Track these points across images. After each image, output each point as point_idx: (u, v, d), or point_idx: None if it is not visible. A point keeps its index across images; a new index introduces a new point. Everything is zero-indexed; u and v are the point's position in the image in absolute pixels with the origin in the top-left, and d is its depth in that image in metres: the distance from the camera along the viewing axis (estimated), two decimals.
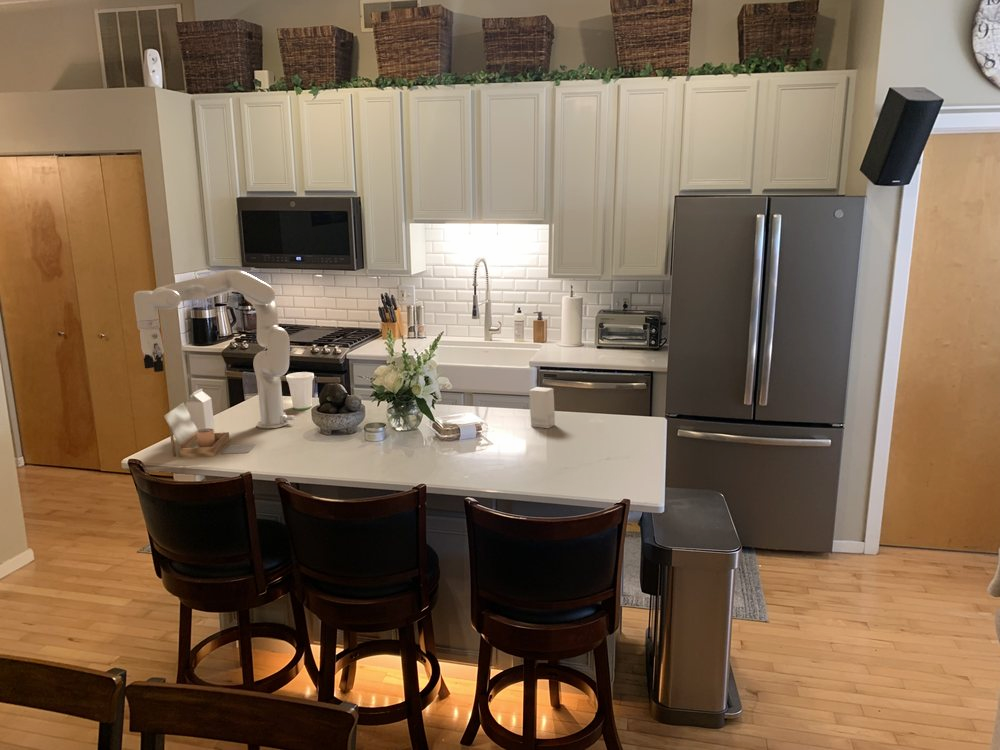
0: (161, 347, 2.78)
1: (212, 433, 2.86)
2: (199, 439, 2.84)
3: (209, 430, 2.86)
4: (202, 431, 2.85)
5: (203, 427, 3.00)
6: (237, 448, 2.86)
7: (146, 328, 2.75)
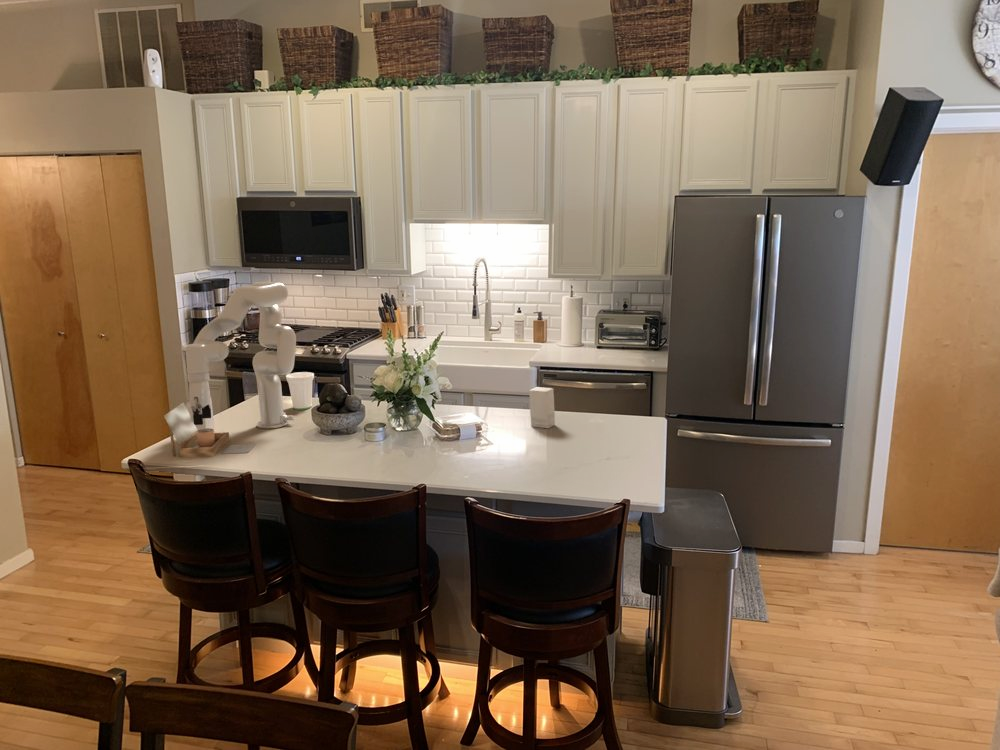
0: None
1: (212, 433, 2.86)
2: (199, 439, 2.84)
3: (209, 430, 2.86)
4: (202, 431, 2.85)
5: (203, 427, 3.00)
6: (237, 448, 2.86)
7: None
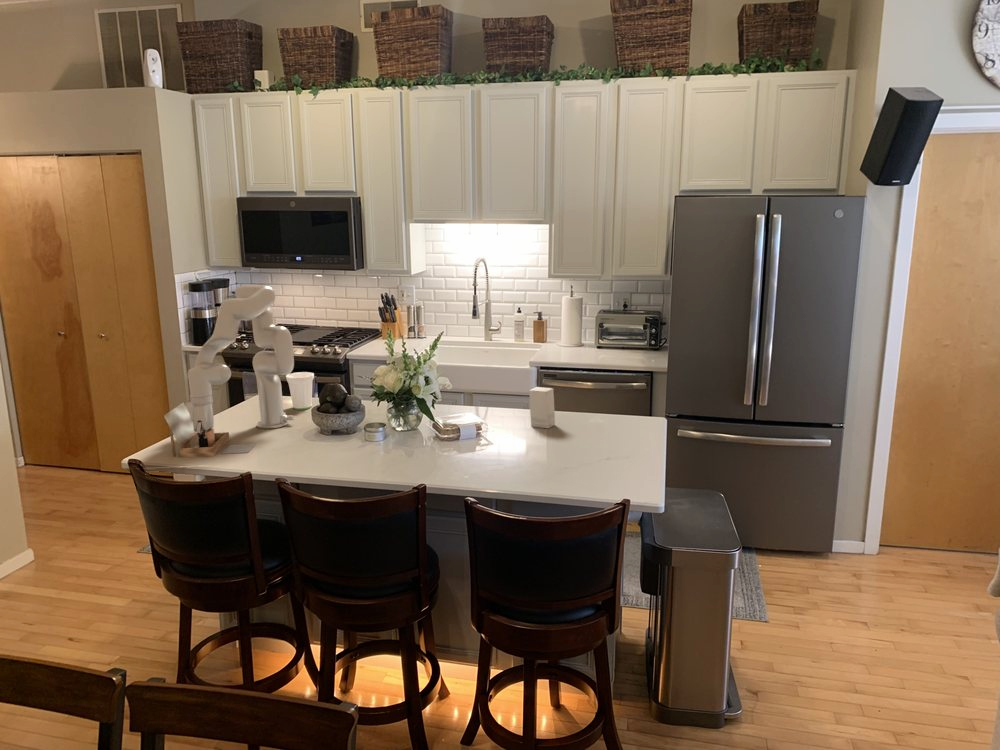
0: None
1: (212, 433, 2.86)
2: None
3: (209, 430, 2.86)
4: None
5: None
6: (237, 448, 2.86)
7: None
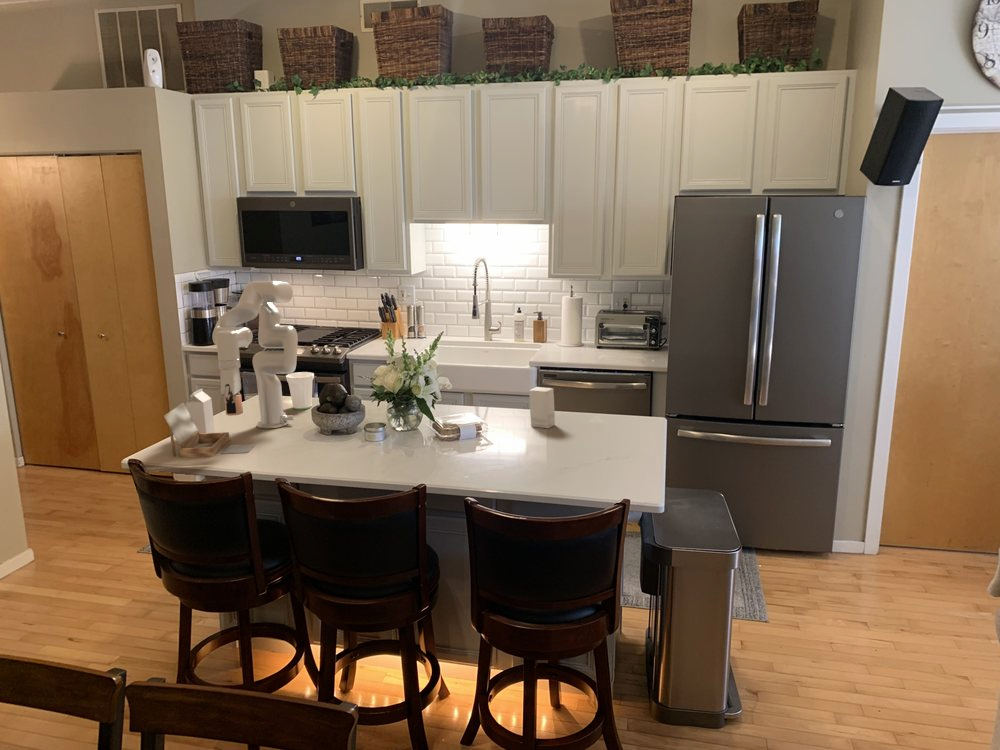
0: None
1: (240, 398, 2.80)
2: None
3: (237, 395, 2.81)
4: None
5: (203, 427, 3.00)
6: (237, 448, 2.86)
7: None
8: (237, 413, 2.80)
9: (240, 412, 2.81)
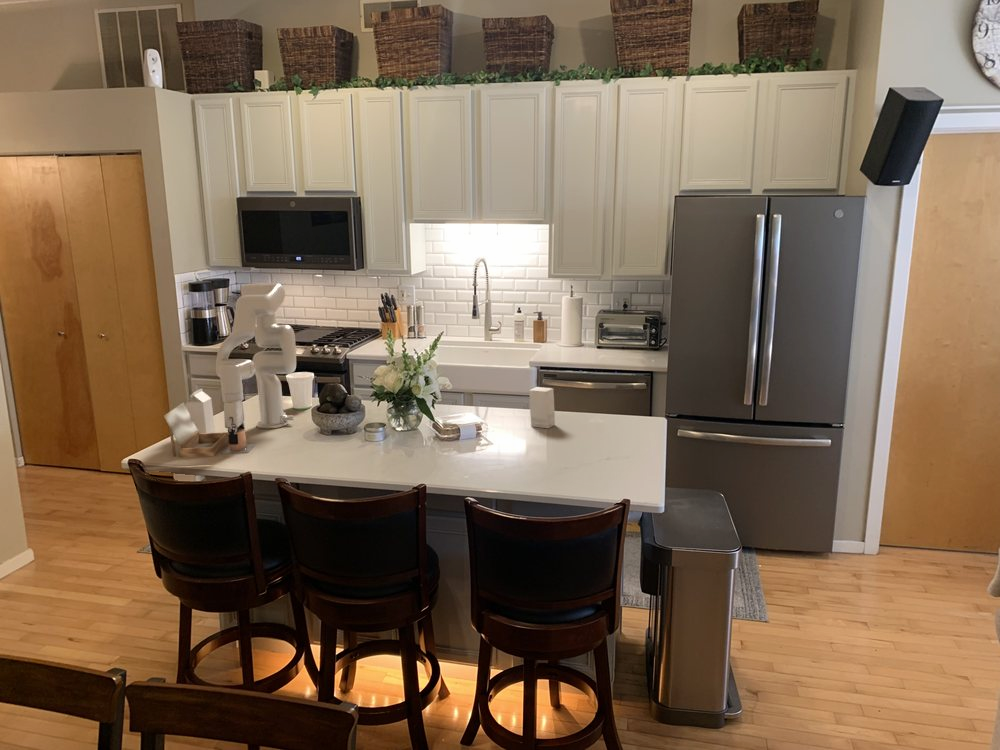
0: None
1: (243, 433, 2.84)
2: None
3: (240, 430, 2.84)
4: None
5: (203, 427, 3.00)
6: None
7: None
8: (241, 449, 2.83)
9: (244, 447, 2.84)
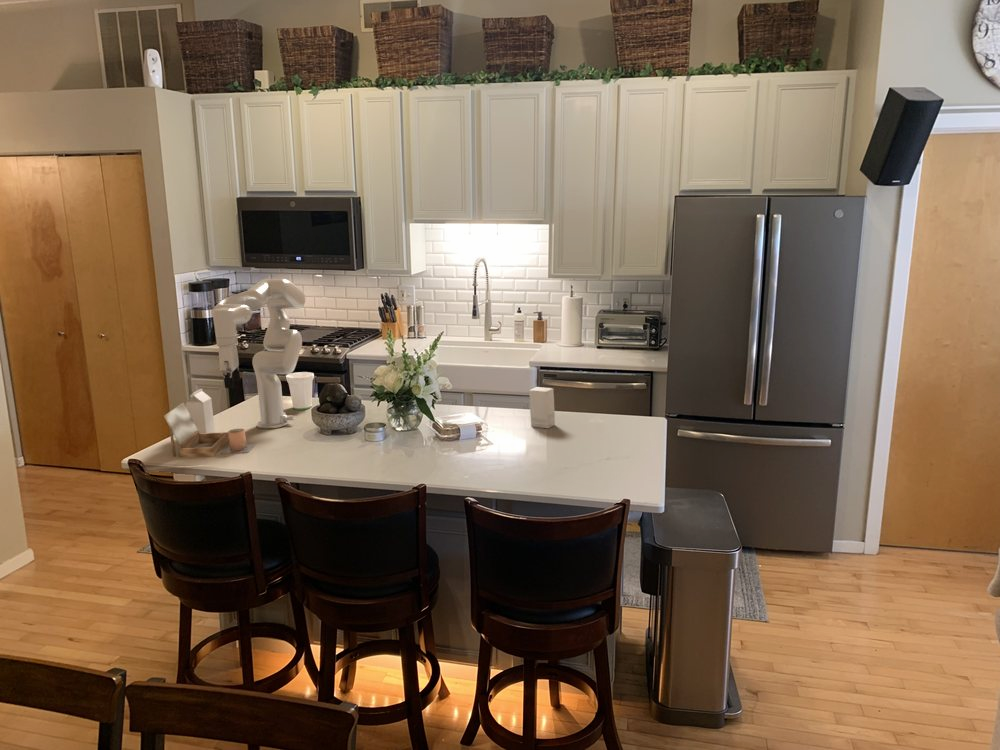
0: None
1: (243, 433, 2.84)
2: (230, 439, 2.82)
3: (240, 430, 2.84)
4: (233, 431, 2.83)
5: (203, 427, 3.00)
6: None
7: None
8: (241, 448, 2.83)
9: (244, 447, 2.84)
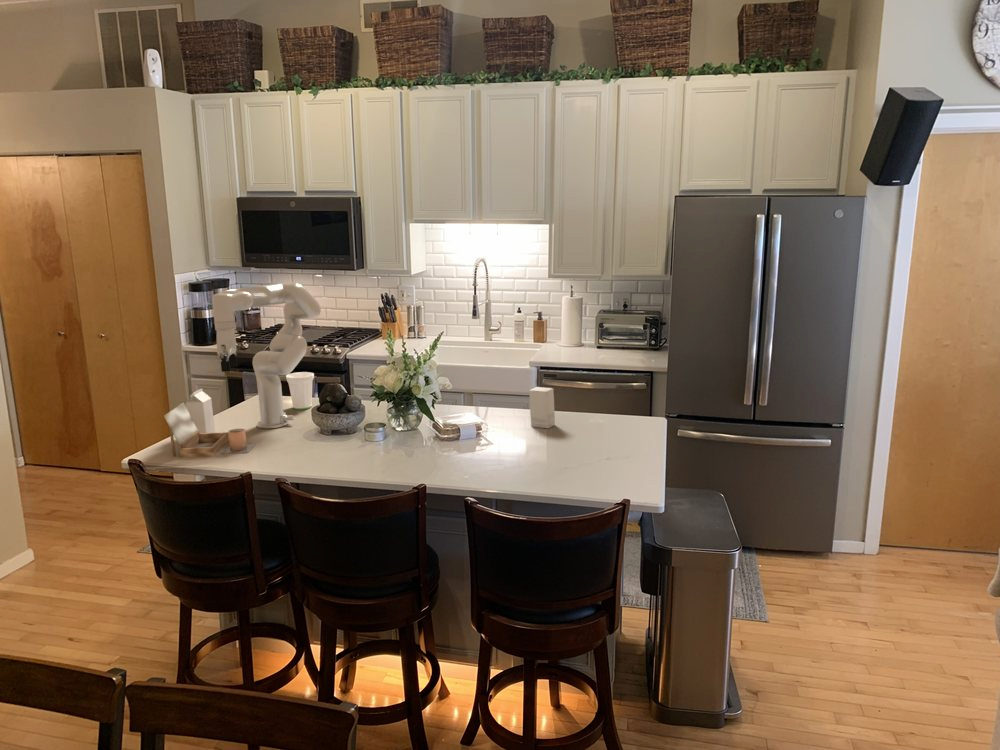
0: None
1: (243, 433, 2.84)
2: (230, 439, 2.82)
3: (240, 430, 2.84)
4: (233, 431, 2.83)
5: (203, 427, 3.00)
6: None
7: None
8: (241, 448, 2.83)
9: (244, 447, 2.84)
